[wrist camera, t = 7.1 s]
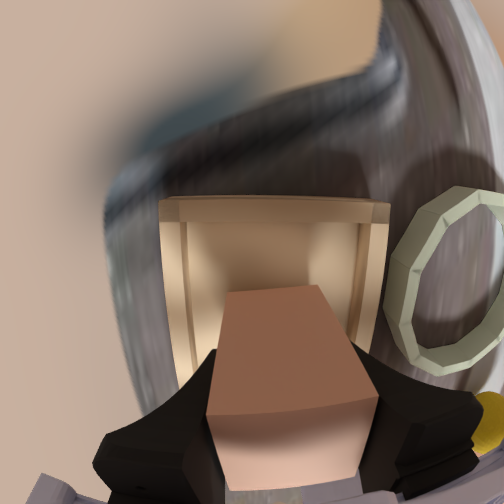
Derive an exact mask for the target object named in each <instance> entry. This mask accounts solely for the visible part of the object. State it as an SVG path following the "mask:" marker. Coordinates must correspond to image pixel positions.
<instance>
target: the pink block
mask: <svg viewBox="0 0 504 504" xmlns="http://www.w3.org/2000/svg"><path fill="white" fill-rule="evenodd" d="M378 398H379V395H378V393H377V391H376V389H375V387H374V385H373V383H372V381H371V379H370V378H369V376H368V374H367V372H366V370H365V368H364V366H363V364H362V363H361V361H360V359H359V357H358V355H357V353H356V352H355V350H354V348H353V346H352V344H351V342H350V341H349V339H348V337H347V335H346V333H345V332H344V330H343V328H342V326H341V324H340V323H339V321H338V319H337V317H336V316H335V314H334V312H333V310H332V308H331V307H330V305H329V303H328V301H327V300H326V298H325V296H324V294H323V293H322V291H321V289H320V288H319V286H318V284H316V285H306V286H296V287H285V288H274V289H263V290H250V291H238V292H227V296H226V301H225V307H224V312H223V318H222V324H221V329H220V335H219V341H218V347H217V352H216V358H215V364H214V370H213V376H212V382H211V388H210V394H209V400H208V406H207V412H206V417H207V421H208V424H209V427H210V431H211V434H212V438H213V441H214V444H215V447H216V451H217V454H218V457H219V460H220V463H221V466H222V469H223V472H224V475H225V478H226V481H227V484H228V487H229V490H230V491H241V490H266V489H279V488H289V487H298V486H306V485H313V484H319V483H325V482H331V481H336V480H341V479H346V478H350V477H355V474H356V472H357V469H358V466H359V463H360V460H361V457H362V454H363V451H364V448H365V445H366V442H367V438H368V435H369V432H370V428H371V425H372V421H373V417H374V413H375V410H376V406H377V402H378Z"/></svg>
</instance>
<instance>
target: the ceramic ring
mask: <svg viewBox="0 0 504 504" xmlns="http://www.w3.org/2000/svg"><path fill="white" fill-rule="evenodd" d="M480 203H483V204H486V205H487V206H488V208H489V209H490V210H491V211H492V213H493V214H494V215H495V216H496V218H497V219H498V220H499V222H500V223H501V224H502V228H503V234H504V194H501V193H496V192H491V191H486V190H481V189H475V188H468V187H461V186H453V187H452V188H450V189H448V190H447V191H445V192H444V193H442V194H441V195H439V196H438V197H436V198H434V199H433V200H431V201H430V202H428V203H427V204H425V205H423V206H422V207H420V208H419V209H418V210H417V212H416V214H415V216H414V217H413V219H412V221H411V223H410V224H409V226H408V228H407V230H406V231H405V233H404V235H403V236H402V238H401V240H400V241H399V243H398V245H397V246H396V248H395V250H394V251H393V253H392V254H391V256H390V263H389V270H388V277H387V284H386V290H385V296H384V302H383V307H382V308H383V311H384V314H385V316H386V319H387V322H388V324H389V327H390V330H391V333H392V336H393V338H394V341H395V344H396V345H397V347H398V348H399V349H400V351H401V352H402V353H403V355H404V356H405V357H406V359H407V360H408V361H409V363H410V364H411V365H414V366H416V367H418V368H420V369H422V370H424V371H426V372H428V373H430V374H433V375H435V376H437V377H438V376H442V375H446V374H449V373H453V372H457V371H460V370H464V369H467V368H470V367H471V366H472V365H474V364H475V363H476V362H477V361H479V360H480V359H481V358H482V357H483V356H485V355H486V354H487V353H488V352H489V351H490V350H492V349H493V348H494V347H495V346H496V345H497V344H498V343H499V342H500V341H501V339H502V338H503V336H504V275H503V279H502V283H501V288H500V292H499V294H498V296H497V298H496V299H495V301H494V303H493V304H492V306H491V308H490V309H489V311H488V313H487V314H486V316H485V317H484V319H483V321H482V322H481V324H479V325H478V326H477V327H476V328H474V329H473V330H472V331H471V332H469V333H468V334H467V335H466V336H464V337H463V338H462V339H461V340H459V341H458V342H457V343H455V344H451V345H447V346H442V347H436V348H431V349H426V348H424V347H422V346H421V345H419V344H417V342H416V338H415V335H414V331H413V328H412V324H411V319H412V315H413V310H414V306H415V301H416V297H417V292H418V286H419V281H420V275H421V272H422V270H423V269H424V267H425V265H426V264H427V262H428V260H429V259H430V257H431V255H432V254H433V252H434V250H435V249H436V247H437V245H438V243H439V242H440V240H441V238H442V236H443V234H444V232H445V231H446V229H447V227H448V226H449V225H451V224H452V223H453V222H455V221H456V220H458V219H459V218H460V217H462V216H463V215H465V214H466V213H467V212H469V211H470V210H471V209H473V208H474V207H476V206H477V205H478V204H480Z"/></svg>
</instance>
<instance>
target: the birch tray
mask: <svg viewBox="0 0 504 504" xmlns="http://www.w3.org/2000/svg"><path fill="white" fill-rule="evenodd" d="M390 205H391V204H389V203H385V202H382V201H378V200H374V199H366V198H348V197H325V196H290V195H206V196H172V197H169V198H166V199H163V200H160V201H158V207H159V227H160V242H161V256H162V267H163V278H164V288H165V297H166V305H167V314H168V321H169V329H170V336H171V343H172V349H173V356H174V362H175V368H176V373H177V379H178V384H179V390H180V389H181V388H182V386H183V385H184V384H185V383H186V382H187V381H188V380H189V379H190V378H191V376H192V375H193V374H194V373H195V371H196V370H197V369H198V368H199V366H200V365H201V364H202V362H203V361H204V360H205V358H206V357H207V355H208V354H209V352H210V351H211V350H212V349H217V347H218V341H219V335H220V329H221V324H222V318H223V312H224V307H225V301H226V296H227V292H238V291H250V290H263V289H274V288H285V287H296V286H306V285H316V284H318V286H319V288H320V289H321V291H322V293H323V294H324V296H325V298H326V300H327V301H328V303H329V305H330V307H331V308H332V310H333V312H334V314H335V316H336V317H337V319H338V321H339V323H340V324H341V326H342V328H343V330H344V332H345V333H346V335H347V337H348V339H349V340H351V341H352V342H353V343H354V344H356V345H357V346H358V347H360V348H361V349H362V350H364V351H365V352H366V353H368V354H369V349H370V345H371V341H372V336H373V331H374V326H375V321H376V316H377V311H378V305H379V299H380V293H381V287H382V281H383V274H384V266H385V259H386V250H387V241H388V231H389V219H390Z"/></svg>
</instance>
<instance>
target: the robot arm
mask: <svg viewBox="0 0 504 504" xmlns="http://www.w3.org/2000/svg"><path fill="white" fill-rule="evenodd" d="M349 341H350V342H351V344H352V346H353V348H354V350H355V352H356V353H357V355H358V357H359V359H360V361H361V363H362V364H363V366H364V368H365V370H366V372H367V374H368V376H369V378H370V379H371V381H372V383H373V385H374V387H375V389H376V391H377V393H378V395H379V398H378V402H377V406H376V410H375V413H374V417H373V421H372V425H371V428H370V432H369V435H368V438H367V442H366V445H365V448H364V451H363V454H362V457H361V460H360V463H359V466H358V469H357V472H356V474H355V477H350V478H346V479H341V480H336V481H331V482H325V483H319V484H313V485H306V486H301V493H302V500H303V504H503V503H504V438H503V440H502V441H501V443H500V445H499V446H497V447H495V448H494V449H492V450H491V451H489V452H487V453H486V454H484V455H482V456H480V457H479V458H478V457H477V456H476V454H475V453H474V451H473V450H472V448H473V447H474V442H473V441H472V439H471V437H472V435H473V434H474V432H475V430H476V429H477V427H478V425H479V423H480V421H481V419H482V417H483V412H484V408H483V406H482V405H481V403H480V402H479V401H478V400H477V399H476V397H475V396H474V395H473V394H472V393H471V392H465V391H457V390H450V389H445V388H440V387H436V386H433V385H429V384H426V383H423V382H420V381H417V380H414V379H412V378H410V377H407V376H405V375H403V374H401V373H399V372H397V371H395V370H393V369H391V368H389V367H388V366H386V365H384V364H383V363H381V362H380V361H378V360H376V359H375V358H374V357H372V356H371V355H369V354H368V353H366V352H365V351H364V350H362V349H361V348H360V347H358V346H357V345H356V344H354V343H353V342H352V341H351V340H349ZM216 352H217V349H212V350H211V351H210V352H209V354H208V355H207V357H206V358H205V360H204V361H203V362H202V364H201V365H200V366H199V368H198V369H197V370H196V371H195V373H194V374H193V375H192V376H191V378H190V379H189V380H188V381H187V382H186V383H185V384H184V385H183V386H182V388H181V389H180V390H179V391H178V392H177V393H176V394H174V395H173V396H172V397H171V398H170V399H169V400H168V401H166V402H165V403H164V404H163V405H161V406H160V407H158V408H157V409H155V410H154V411H153V412H151V413H150V414H148V415H146V416H145V417H143V418H141V419H140V420H138V421H136V422H134V423H132V424H130V425H128V426H126V427H123V428H121V429H118V430H116V431H113V432H111V433H108V434H106V435H105V437H104V438H103V440H102V442H101V444H100V446H99V449H98V451H97V453H96V455H95V457H94V460H93V462H92V464H93V468H94V470H95V471H96V473H97V474H98V476H99V477H100V478H101V479H102V480H103V481H104V483H105V484H106V485H107V486H108V487H109V488H110V489H111V491H112V492H111V495H110V498H109V501H108V503H106V502H103V501H99V500H96V499H93V498H89V497H86V496H83V495H80V494H77V493H76V491H75V490H74V489H73V488H72V487H71V486H70V485H69V484H67V483H65V482H63V481H61V480H59V479H56V478H54V477H51V476H49V475H46V474H44V473H41V475H40V477H39V479H38V481H37V482H36V484H35V486H34V488H33V490H32V492H31V494H30V496H29V498H28V500H27V502H26V504H225V475H224V472H223V469H222V466H221V463H220V460H219V457H218V454H217V451H216V447H215V444H214V441H213V438H212V434H211V431H210V427H209V424H208V421H207V417H206V412H207V406H208V400H209V394H210V388H211V382H212V376H213V370H214V364H215V358H216Z"/></svg>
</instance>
